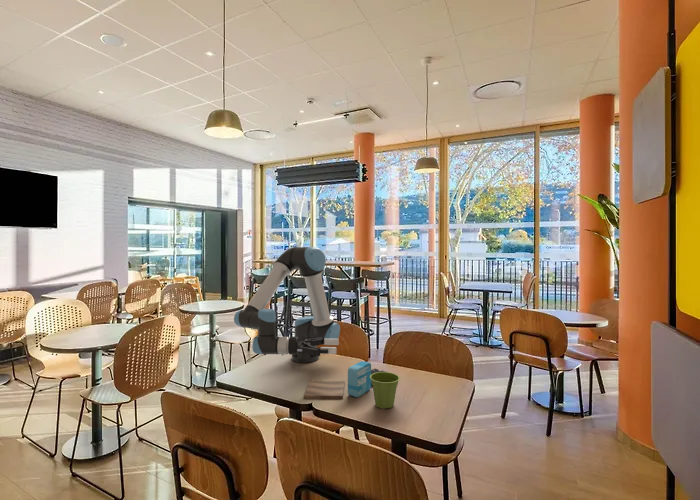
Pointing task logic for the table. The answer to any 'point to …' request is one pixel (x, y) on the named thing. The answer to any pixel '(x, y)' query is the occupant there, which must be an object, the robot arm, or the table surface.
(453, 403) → the table surface
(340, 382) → the board
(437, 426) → the table surface
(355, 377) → the light blue box
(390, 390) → the plant pot
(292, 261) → the robot arm
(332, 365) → the table surface
